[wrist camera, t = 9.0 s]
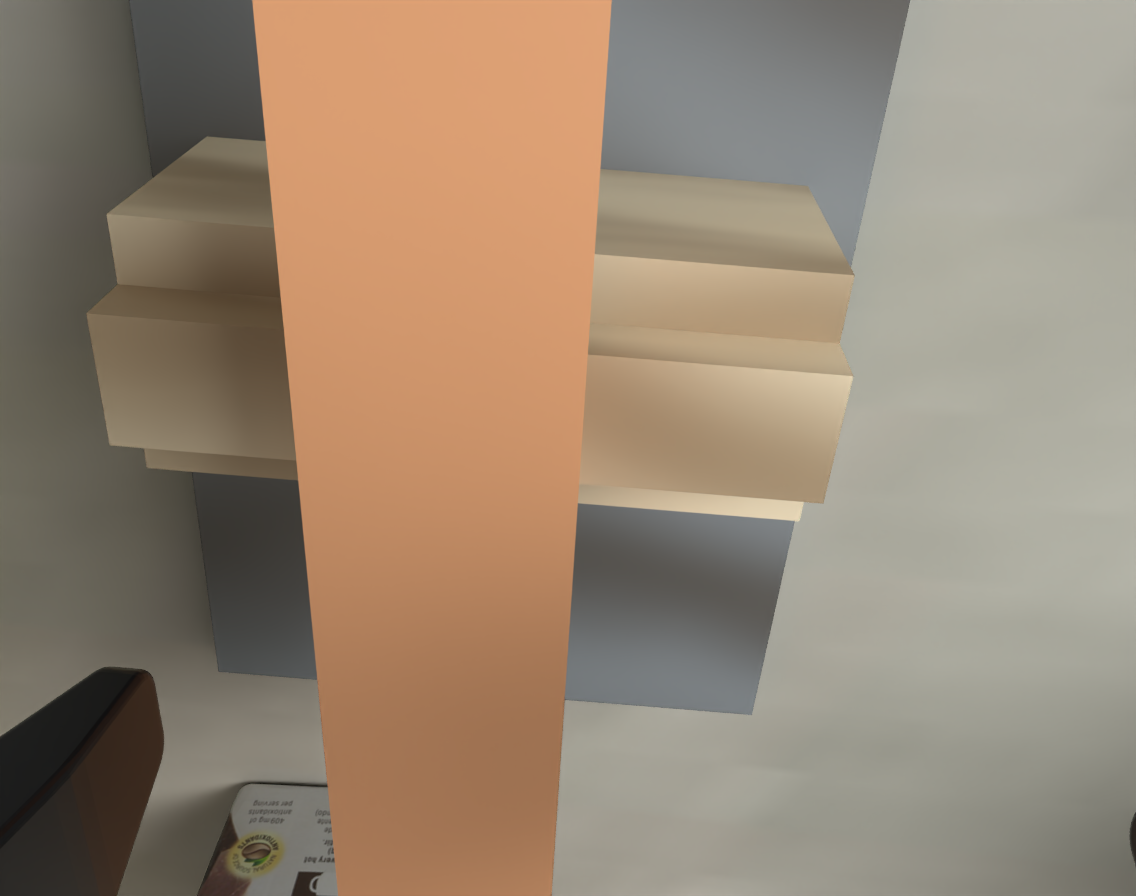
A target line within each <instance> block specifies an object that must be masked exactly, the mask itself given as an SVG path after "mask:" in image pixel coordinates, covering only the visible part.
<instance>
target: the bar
mask: <svg viewBox="0 0 1136 896" xmlns="http://www.w3.org/2000/svg"><path fill="white" fill-rule="evenodd" d="M252 2H253V13H254V23H255V34H256V44H257V55H258V65H259V76H260V86H261V96H262V107H263V117H264V128H265V138H266V149H267V159H268V169H269V180H270V190H271V201H272V211H273V222H274V232H275V242H276V253H277V263H278V274H279V284H280V295H281V305H282V315H283V326H284V336H285V347H286V357H287V368H288V378H289V389H290V399H291V409H292V420H293V430H294V441H295V451H296V462H297V472H298V482H299V493H300V503H301V514H302V524H303V535H304V545H305V555H306V566H307V576H308V587H309V597H310V608H311V618H312V628H313V639H314V649H315V660H316V670H317V681H318V691H319V701H320V712H321V722H322V733H323V743H324V754H325V764H326V775H327V785H328V795H329V806H330V816H331V827H332V837H333V848H334V858H335V868H336V879H337V889H338V896H551V894H552V879H553V865H554V850H555V835H556V820H557V805H558V790H559V775H560V761H561V746H562V731H563V716H564V701H565V686H566V672H567V657H568V642H569V627H570V612H571V597H572V582H573V568H574V553H575V538H576V523H577V508H578V493H579V479H580V464H581V449H582V434H583V419H584V404H585V390H586V375H587V360H588V345H589V330H590V315H591V300H592V286H593V271H594V256H595V241H596V226H597V211H598V197H599V182H600V167H601V152H602V137H603V122H604V107H605V93H606V78H607V63H608V48H609V33H610V18H611V4H612V0H252Z"/></svg>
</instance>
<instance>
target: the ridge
mask: <svg viewBox="0 0 1136 896" xmlns="http://www.w3.org/2000/svg"><path fill="white" fill-rule="evenodd" d="M129 3H130V11H131V18H132V26H133V33H134V41H135V48H136V56H137V63H138V71H139V78H140V86H141V93H142V101H143V108H144V116H145V123H146V131H147V138H148V146H149V153H150V161H151V168H152V176H153V178H152V179H151V180H150V181H149V182H147V183H146V184H145V185H143V186H142V187H141V188H139V189H138V190H137V191H136V192H134V193H133V194H132V195H130V196H129V197H128V198H126V199H125V200H124V201H123V202H121V203H120V204H119V205H117V206H116V207H115V208H114V209H112V210H111V211H110V212H108V213H107V214H106V215H107V221H108V227H109V234H110V240H111V246H112V253H113V259H114V265H115V271H116V278H117V285H116V286H115V287H114V288H113V289H112V290H111V291H110V292H109V293H108V294H107V295H105V296H104V297H103V298H102V299H101V300H100V301H99V302H98V303H97V304H96V305H95V306H94V307H93V308H92V309H90V310H89V311H88V312H87V313H86V315H87V321H88V326H89V332H90V338H91V343H92V349H93V354H94V360H95V366H96V371H97V377H98V382H99V388H100V394H101V399H102V405H103V411H104V416H105V422H106V427H107V433H108V439H109V444H110V445H111V446H123V447H136V448H144V454H145V460H146V466H147V468H152V469H164V470H177V471H189V472H192V476H193V483H194V491H195V498H196V506H197V513H198V521H199V528H200V536H201V543H202V551H203V558H204V566H205V573H206V581H207V588H208V596H209V603H210V611H211V618H212V626H213V633H214V641H215V648H216V656H217V663H218V671H219V672H229V673H241V674H253V675H266V676H278V677H290V678H303V679H315V680H317V670H316V660H315V649H314V639H313V628H312V618H311V608H310V597H309V587H308V576H307V566H306V555H305V545H304V535H303V524H302V514H301V503H300V493H299V482H298V472H297V462H296V451H295V441H294V430H293V420H292V409H291V399H290V389H289V378H288V368H287V357H286V347H285V336H284V326H283V315H282V305H281V295H280V284H279V274H278V263H277V253H276V242H275V232H274V222H273V211H272V201H271V190H270V180H269V169H268V159H267V149H266V138H265V128H264V117H263V107H262V96H261V86H260V76H259V65H258V55H257V44H256V34H255V23H254V13H253V2H252V0H129ZM909 3H910V0H612V4H611V18H610V33H609V48H608V63H607V78H606V93H605V107H604V122H603V137H602V152H601V167H600V182H599V197H598V211H597V226H596V241H595V256H594V271H593V286H592V300H591V315H590V330H589V345H588V360H587V375H586V390H585V404H584V419H583V434H582V449H581V464H580V479H579V493H578V508H577V523H576V538H575V553H574V568H573V582H572V597H571V612H570V627H569V642H568V657H567V672H566V686H565V700H574V701H587V702H599V703H611V704H624V705H636V706H648V707H661V708H673V709H685V710H698V711H710V712H722V713H735V714H747V715H752V711H753V707H754V702H755V698H756V693H757V689H758V684H759V680H760V675H761V671H762V666H763V662H764V657H765V653H766V648H767V644H768V639H769V634H770V630H771V625H772V621H773V616H774V612H775V607H776V603H777V598H778V594H779V589H780V585H781V580H782V576H783V571H784V567H785V562H786V558H787V553H788V549H789V544H790V540H791V535H792V531H793V526H794V522H795V521H800V517H801V512H802V508H803V503H804V502H810V503H824V499H825V494H826V490H827V486H828V482H829V477H830V473H831V469H832V465H833V460H834V456H835V452H836V448H837V444H838V439H839V435H840V431H841V427H842V422H843V418H844V414H845V410H846V405H847V401H848V397H849V393H850V389H851V384H852V380H853V374H852V372H851V369H850V367H849V365H848V362H847V360H846V358H845V355H844V353H843V351H842V348H841V346H840V344H839V343H840V339H841V334H842V330H843V325H844V321H845V316H846V312H847V308H848V303H849V299H850V294H851V290H852V285H853V281H854V276H855V275H854V273H853V271H852V269H851V265H852V260H853V256H854V251H855V247H856V242H857V238H858V233H859V229H860V224H861V220H862V215H863V211H864V206H865V202H866V197H867V193H868V188H869V184H870V179H871V175H872V170H873V166H874V161H875V157H876V152H877V148H878V143H879V139H880V134H881V130H882V125H883V121H884V116H885V112H886V107H887V103H888V98H889V94H890V89H891V85H892V80H893V76H894V71H895V67H896V62H897V57H898V53H899V48H900V44H901V39H902V35H903V30H904V26H905V21H906V17H907V12H908V8H909Z"/></svg>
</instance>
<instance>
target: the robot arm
mask: <svg viewBox="0 0 1136 896" xmlns="http://www.w3.org/2000/svg"><path fill="white" fill-rule="evenodd" d="M163 749H164V732H163V727H162V721H161V716H160V710H159V704H158V699H157V693H156V688H155V683H154V680H153V677H152V676H151V674H150V673H149V672H148V671H145V670H142V669H132V668H120V667H104V668H101V669H99V670H97V671H95V672H93V673H92V674H91V675H89V676H88V677H86V678H85V679H83V680H82V681H80V682H79V683H78V684H76V685H75V686H73V687H72V688H70V689H69V690H67V691H66V692H64V693H63V694H62V695H60V696H59V697H57V698H56V699H54V700H53V701H51V702H50V703H48V704H47V705H46V706H44V707H43V708H41V709H40V710H38V711H37V712H35V713H34V714H32V715H31V716H30V717H28V718H27V719H25V720H24V721H22V722H21V723H19V724H18V725H17V726H15V727H14V728H12V729H11V730H9V731H8V732H6V733H5V734H3V735H2V736H1V737H0V896H117V893H118V890H119V887H120V884H121V881H122V878H123V875H124V872H125V869H126V866H127V863H128V860H129V857H130V854H131V851H132V848H133V845H134V842H135V839H136V836H137V833H138V830H139V827H140V824H141V821H142V818H143V815H144V812H145V809H146V806H147V803H148V800H149V797H150V794H151V791H152V788H153V785H154V782H155V779H156V776H157V773H158V770H159V767H160V763H161V760H162V755H163ZM1130 845H1131V851H1132V855H1133V858H1134V862H1135V866H1136V813H1135V815H1134V817H1133V819H1132V822H1131V827H1130Z"/></svg>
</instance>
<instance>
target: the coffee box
mask: <svg viewBox="0 0 1136 896" xmlns="http://www.w3.org/2000/svg"><path fill="white" fill-rule="evenodd" d="M197 896H338V889H337V879H336V868H335V858H334V848H333V837H332V827H331V816H330V806H329V795H328V787H310V786H288V785H267V784H248V785H245V786H244V787H242V788H241V789H240V790H239V792H238V794H237V796H236V798H235V800H234V803H233V805H232V807H231V810H230V813H229V816H228V819H227V821H226V824H225V826H224V829H223V831H222V834H221V836H220V839H219V841H218V844H217V846H216V849H215V851H214V854H213V856H212V859H211V861H210V864H209V866H208V869H207V872H206V874H205V877H204V879H203V882H202V884H201V887H200V889H199V892H198V894H197Z"/></svg>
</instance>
